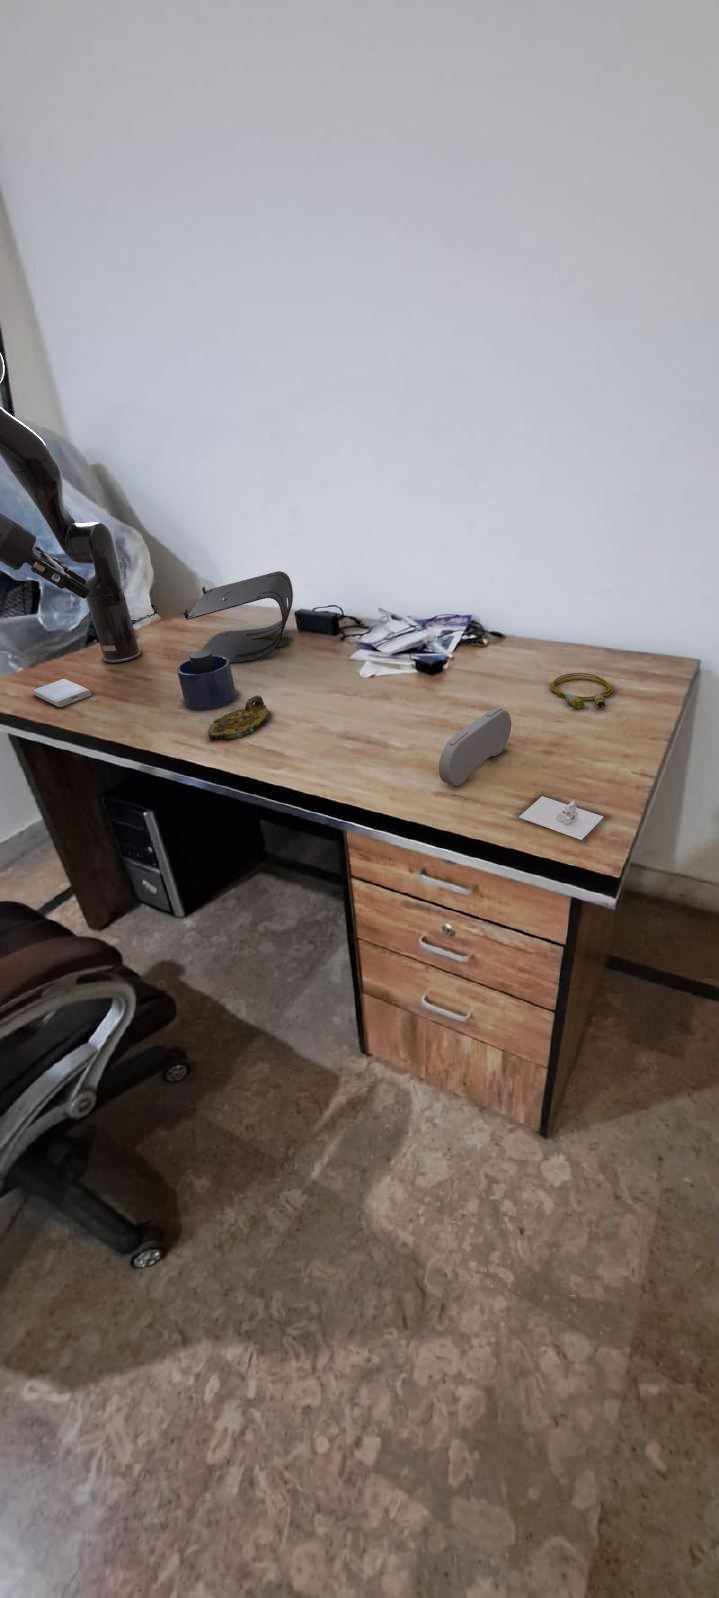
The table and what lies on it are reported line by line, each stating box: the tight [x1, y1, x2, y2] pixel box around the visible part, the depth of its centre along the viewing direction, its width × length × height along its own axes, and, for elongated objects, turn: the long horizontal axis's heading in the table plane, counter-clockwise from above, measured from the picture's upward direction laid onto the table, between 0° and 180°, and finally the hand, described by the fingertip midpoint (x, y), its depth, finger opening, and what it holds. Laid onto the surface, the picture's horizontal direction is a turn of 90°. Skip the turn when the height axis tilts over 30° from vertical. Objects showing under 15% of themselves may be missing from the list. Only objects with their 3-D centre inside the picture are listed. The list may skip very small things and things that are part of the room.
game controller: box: [438, 707, 512, 787], centre depth 112 cm, size 20×2×8 cm, turn 140°
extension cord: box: [550, 672, 613, 710], centre depth 134 cm, size 12×16×2 cm
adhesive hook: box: [554, 799, 579, 825], centre depth 98 cm, size 3×3×3 cm
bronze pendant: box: [207, 694, 269, 740], centre depth 134 cm, size 9×5×15 cm
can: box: [176, 655, 237, 711], centre depth 146 cm, size 11×11×8 cm
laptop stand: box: [183, 570, 294, 664], centre depth 172 cm, size 26×24×16 cm
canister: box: [189, 649, 215, 674], centre depth 145 cm, size 5×5×10 cm
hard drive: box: [32, 678, 92, 708], centre depth 157 cm, size 2×8×12 cm
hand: (85, 589), depth 132 cm, fingers open, 8 cm apart
